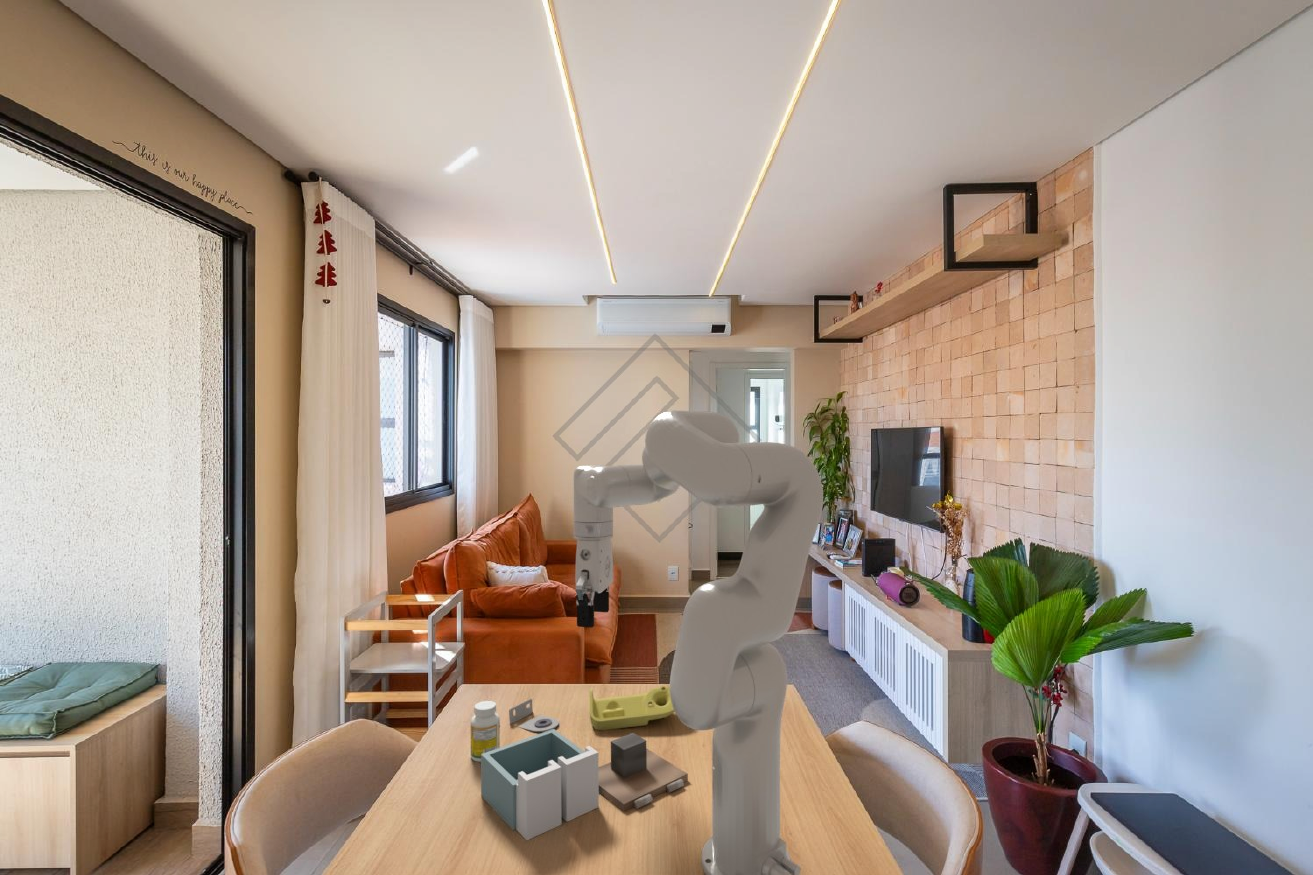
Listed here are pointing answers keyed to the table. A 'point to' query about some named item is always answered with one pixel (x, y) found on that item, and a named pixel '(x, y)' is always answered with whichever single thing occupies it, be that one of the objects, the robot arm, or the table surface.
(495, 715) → the supplement bottle
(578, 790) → the cabinet
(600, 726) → the plastic component
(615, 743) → the door
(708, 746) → the table surface
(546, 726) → the bracket
